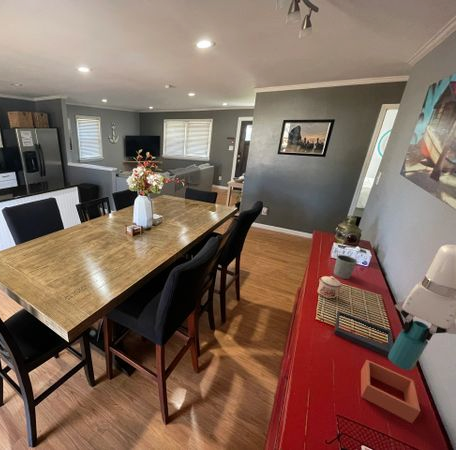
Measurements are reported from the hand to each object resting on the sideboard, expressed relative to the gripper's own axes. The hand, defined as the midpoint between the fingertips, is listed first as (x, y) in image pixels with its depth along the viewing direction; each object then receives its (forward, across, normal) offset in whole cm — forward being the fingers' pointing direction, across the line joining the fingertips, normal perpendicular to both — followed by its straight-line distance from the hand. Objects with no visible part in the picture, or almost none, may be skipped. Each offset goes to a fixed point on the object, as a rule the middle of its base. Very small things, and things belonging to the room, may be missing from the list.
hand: (414, 335), depth 75 cm
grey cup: (+26, +42, -71) cm, 87 cm away
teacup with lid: (+26, +36, -42) cm, 61 cm away
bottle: (+12, 0, 0) cm, 12 cm away
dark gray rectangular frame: (+26, +15, -24) cm, 38 cm away
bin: (+26, 0, +2) cm, 26 cm away
